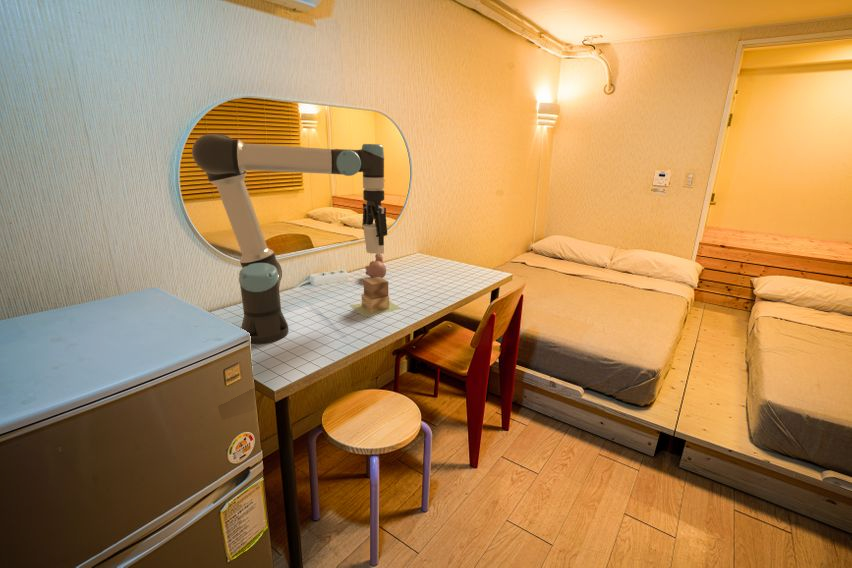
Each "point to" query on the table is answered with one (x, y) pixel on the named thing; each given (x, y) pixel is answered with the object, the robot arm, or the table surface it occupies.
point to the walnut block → (376, 287)
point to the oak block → (375, 303)
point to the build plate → (365, 312)
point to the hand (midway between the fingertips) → (374, 251)
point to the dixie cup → (370, 237)
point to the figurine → (376, 267)
